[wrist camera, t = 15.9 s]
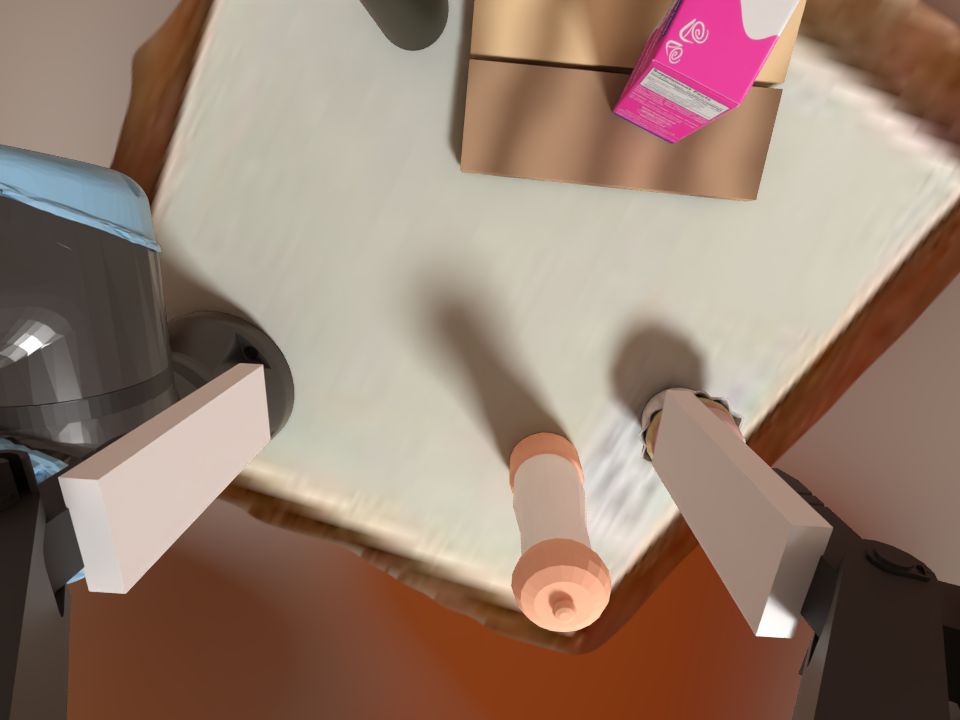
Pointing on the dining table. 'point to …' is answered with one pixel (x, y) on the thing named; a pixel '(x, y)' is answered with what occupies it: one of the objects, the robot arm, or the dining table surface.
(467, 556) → the dining table surface
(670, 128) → the supplement box
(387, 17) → the wine bottle
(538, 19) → the laid plank
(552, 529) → the peach and white cylinder
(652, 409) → the cupcake
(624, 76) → the board
